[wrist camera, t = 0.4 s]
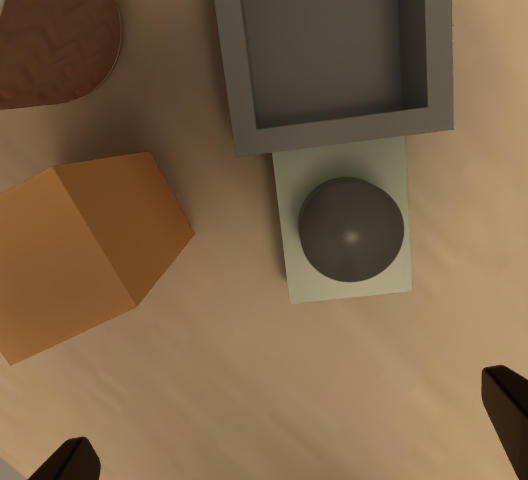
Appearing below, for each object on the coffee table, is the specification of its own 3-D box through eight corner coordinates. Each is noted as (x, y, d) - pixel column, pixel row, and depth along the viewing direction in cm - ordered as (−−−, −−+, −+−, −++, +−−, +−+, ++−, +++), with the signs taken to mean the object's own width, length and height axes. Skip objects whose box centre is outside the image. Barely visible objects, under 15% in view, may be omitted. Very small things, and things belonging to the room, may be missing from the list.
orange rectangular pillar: (194, 233, 23) (136, 306, 14) (118, 271, 24) (10, 365, 14) (149, 151, 22) (51, 166, 12) (70, 192, 23) (-81, 237, 13)
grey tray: (422, 268, 23) (461, 304, 18) (262, 285, 24) (258, 324, 19) (410, -71, 19) (455, -139, 14) (218, -41, 20) (199, -97, 15)
